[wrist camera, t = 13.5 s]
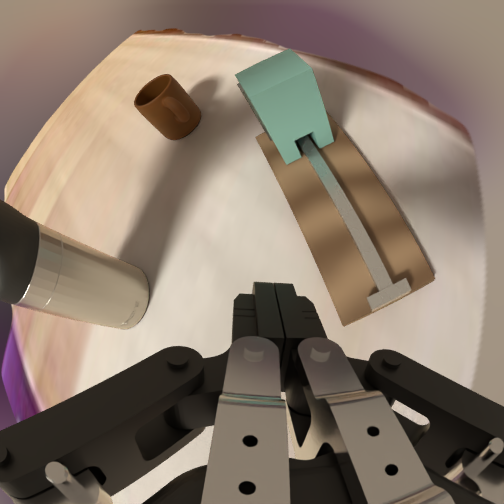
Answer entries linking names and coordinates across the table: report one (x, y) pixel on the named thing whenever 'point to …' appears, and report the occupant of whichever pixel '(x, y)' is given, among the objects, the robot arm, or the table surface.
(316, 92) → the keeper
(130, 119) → the table surface
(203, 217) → the table surface
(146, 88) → the mug
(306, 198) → the board
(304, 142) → the rail
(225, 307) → the table surface
